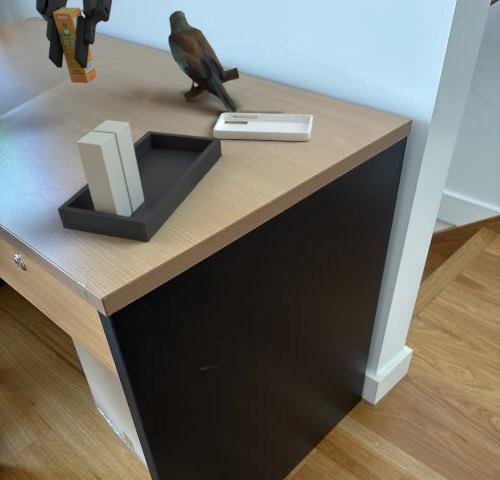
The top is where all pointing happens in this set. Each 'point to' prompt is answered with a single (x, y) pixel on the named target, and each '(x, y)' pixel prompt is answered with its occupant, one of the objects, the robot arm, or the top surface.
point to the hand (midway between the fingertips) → (67, 62)
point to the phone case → (265, 127)
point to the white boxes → (111, 168)
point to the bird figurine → (199, 61)
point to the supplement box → (72, 44)
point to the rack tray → (149, 186)
